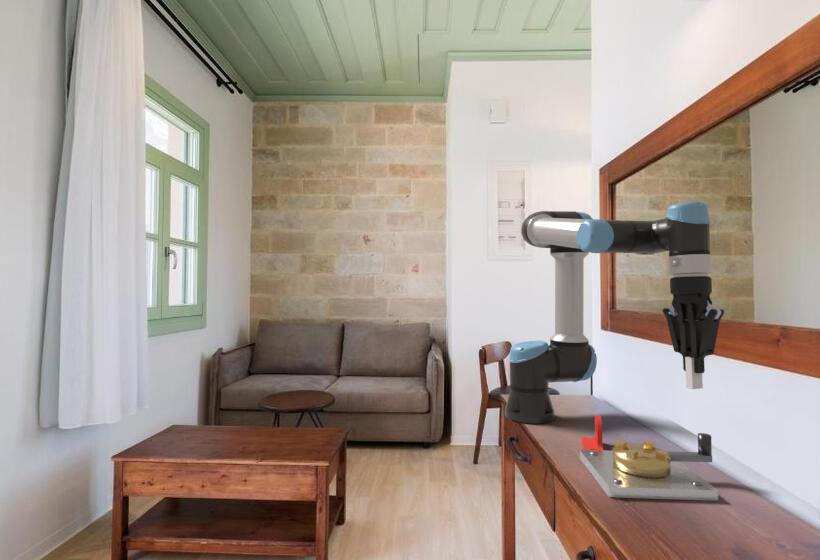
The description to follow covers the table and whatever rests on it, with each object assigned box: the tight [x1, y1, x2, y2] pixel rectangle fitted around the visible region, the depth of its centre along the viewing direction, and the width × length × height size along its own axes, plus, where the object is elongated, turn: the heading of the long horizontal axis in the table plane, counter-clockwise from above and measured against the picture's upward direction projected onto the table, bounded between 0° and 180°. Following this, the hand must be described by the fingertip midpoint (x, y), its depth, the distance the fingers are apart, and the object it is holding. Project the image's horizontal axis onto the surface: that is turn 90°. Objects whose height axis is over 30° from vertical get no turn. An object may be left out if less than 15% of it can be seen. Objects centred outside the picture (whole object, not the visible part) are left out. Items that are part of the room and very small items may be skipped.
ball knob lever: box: [612, 432, 713, 477], centre depth 97 cm, size 20×11×7 cm, turn 85°
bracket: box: [580, 414, 604, 450], centre depth 114 cm, size 12×4×8 cm, turn 163°
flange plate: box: [579, 449, 719, 502], centre depth 97 cm, size 20×20×2 cm
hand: (694, 388), depth 95 cm, fingers closed
